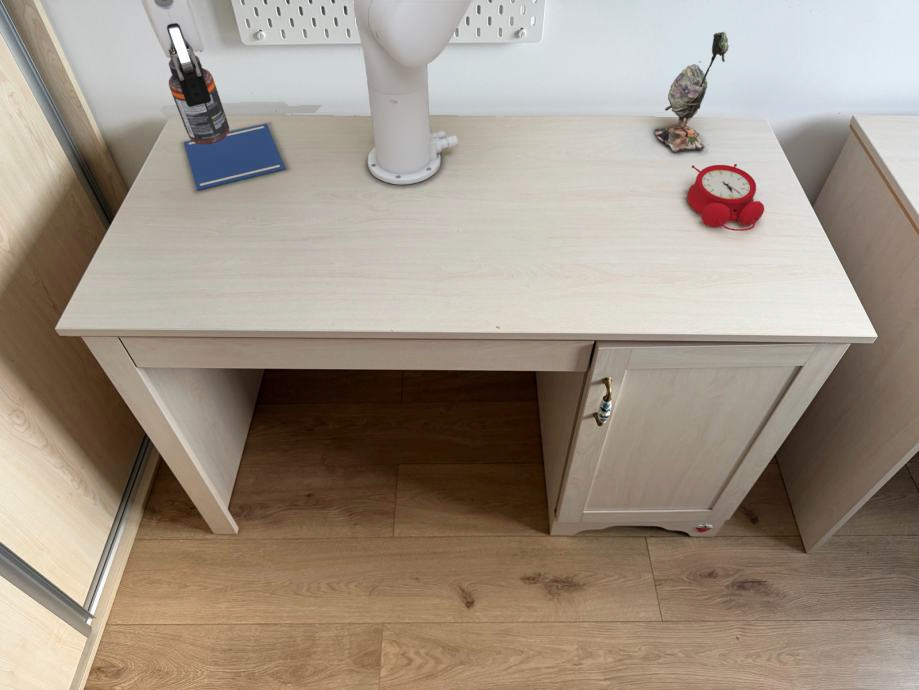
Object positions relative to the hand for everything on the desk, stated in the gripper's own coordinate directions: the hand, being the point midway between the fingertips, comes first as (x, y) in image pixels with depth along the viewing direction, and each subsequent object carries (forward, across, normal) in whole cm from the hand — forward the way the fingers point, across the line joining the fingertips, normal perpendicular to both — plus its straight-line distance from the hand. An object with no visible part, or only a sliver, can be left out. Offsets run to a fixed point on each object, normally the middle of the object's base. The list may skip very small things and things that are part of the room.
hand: (194, 90), depth 93 cm
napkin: (+21, +15, -3) cm, 26 cm away
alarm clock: (+22, -32, -72) cm, 82 cm away
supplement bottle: (+7, 0, 0) cm, 7 cm away
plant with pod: (+22, -13, -77) cm, 81 cm away
